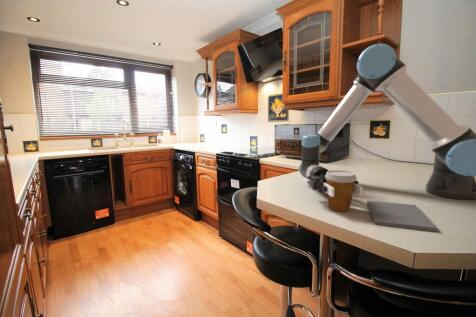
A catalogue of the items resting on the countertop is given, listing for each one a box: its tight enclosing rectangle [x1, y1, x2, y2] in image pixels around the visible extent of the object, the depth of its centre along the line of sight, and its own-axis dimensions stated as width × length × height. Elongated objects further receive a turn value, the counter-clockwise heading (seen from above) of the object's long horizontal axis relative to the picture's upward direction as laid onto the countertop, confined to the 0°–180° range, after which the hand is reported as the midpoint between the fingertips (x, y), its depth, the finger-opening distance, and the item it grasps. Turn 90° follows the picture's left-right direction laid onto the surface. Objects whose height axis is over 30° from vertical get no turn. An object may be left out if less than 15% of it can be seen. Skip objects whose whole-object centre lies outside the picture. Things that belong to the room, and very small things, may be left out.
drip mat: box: [366, 200, 438, 233], centre depth 71 cm, size 14×18×1 cm
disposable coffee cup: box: [325, 169, 358, 213], centre depth 77 cm, size 10×10×12 cm
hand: (347, 192), depth 73 cm, fingers closed on disposable coffee cup, 8 cm apart
